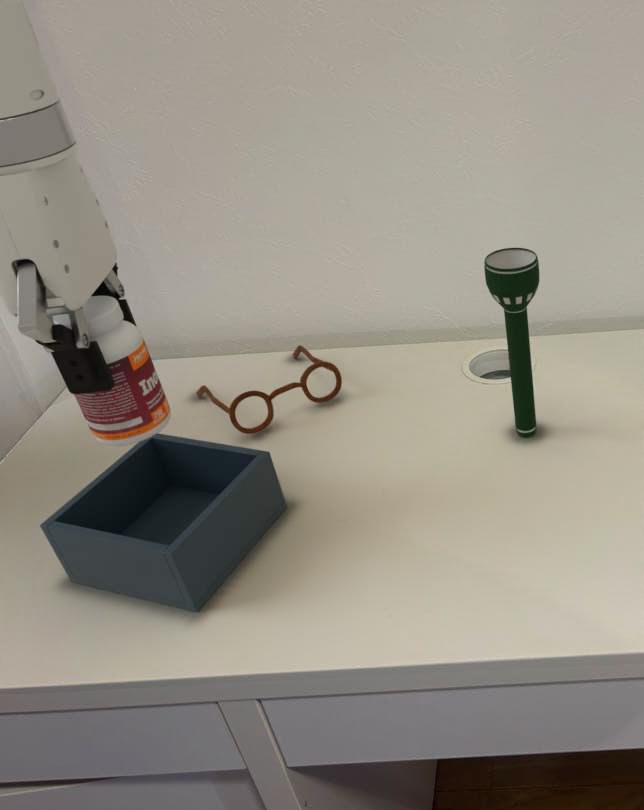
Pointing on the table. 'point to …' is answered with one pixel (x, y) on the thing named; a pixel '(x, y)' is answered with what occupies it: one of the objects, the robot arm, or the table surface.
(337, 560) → the table surface
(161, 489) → the bin
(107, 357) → the pill bottle
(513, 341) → the flashlight
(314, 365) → the glasses
